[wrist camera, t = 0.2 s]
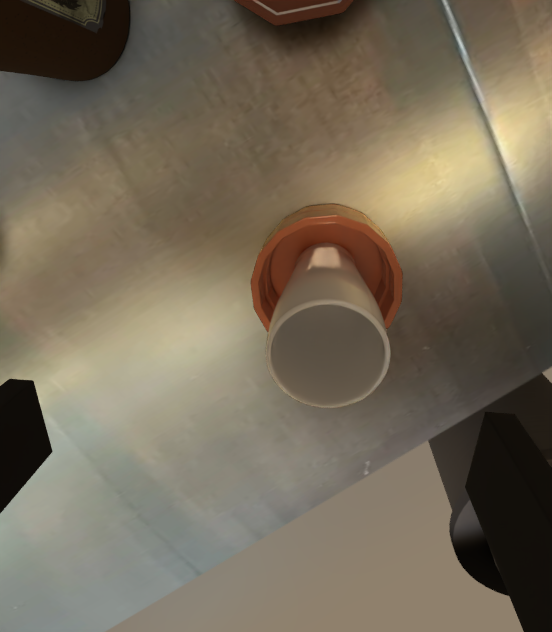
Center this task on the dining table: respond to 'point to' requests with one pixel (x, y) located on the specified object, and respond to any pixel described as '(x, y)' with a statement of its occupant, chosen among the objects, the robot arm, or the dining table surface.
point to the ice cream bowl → (294, 9)
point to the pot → (327, 228)
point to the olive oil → (62, 37)
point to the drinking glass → (327, 332)
